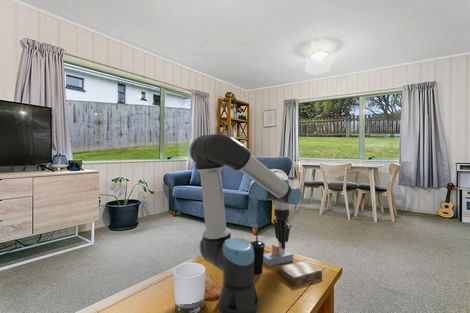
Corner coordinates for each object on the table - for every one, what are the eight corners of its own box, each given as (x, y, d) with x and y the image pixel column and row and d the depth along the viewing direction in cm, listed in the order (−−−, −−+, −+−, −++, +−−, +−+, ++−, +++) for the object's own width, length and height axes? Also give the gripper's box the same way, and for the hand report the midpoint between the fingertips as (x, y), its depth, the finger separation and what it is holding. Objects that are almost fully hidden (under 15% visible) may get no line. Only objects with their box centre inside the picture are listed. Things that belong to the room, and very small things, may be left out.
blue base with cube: (269, 266, 122) (269, 249, 122) (261, 260, 129) (261, 244, 129) (293, 260, 129) (293, 244, 128) (285, 255, 135) (285, 240, 135)
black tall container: (246, 274, 115) (246, 231, 115) (252, 267, 121) (252, 227, 121) (261, 277, 111) (261, 234, 111) (267, 270, 118) (267, 229, 118)
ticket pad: (293, 286, 104) (293, 277, 104) (277, 273, 115) (277, 266, 115) (322, 278, 110) (322, 270, 110) (304, 267, 121) (304, 259, 121)
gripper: (295, 210, 121) (295, 257, 121) (280, 205, 132) (280, 248, 133) (283, 211, 118) (283, 260, 118) (268, 206, 129) (268, 250, 130)
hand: (281, 254), depth 125 cm, fingers closed
